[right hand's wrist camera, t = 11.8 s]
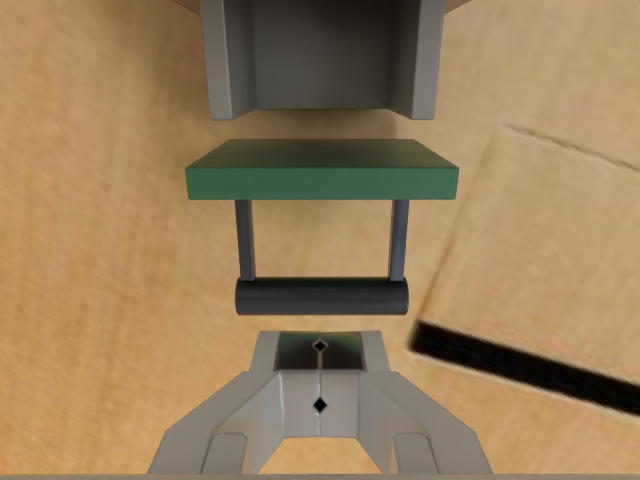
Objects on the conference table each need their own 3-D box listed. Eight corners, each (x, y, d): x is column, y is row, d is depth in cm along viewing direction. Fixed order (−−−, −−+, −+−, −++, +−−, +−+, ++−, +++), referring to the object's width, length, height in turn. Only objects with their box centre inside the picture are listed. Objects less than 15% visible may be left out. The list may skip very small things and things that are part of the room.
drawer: (404, 262, 24) (439, 337, 17) (238, 262, 24) (204, 337, 17) (435, -127, 18) (511, -267, 11) (207, -127, 18) (132, -265, 11)
